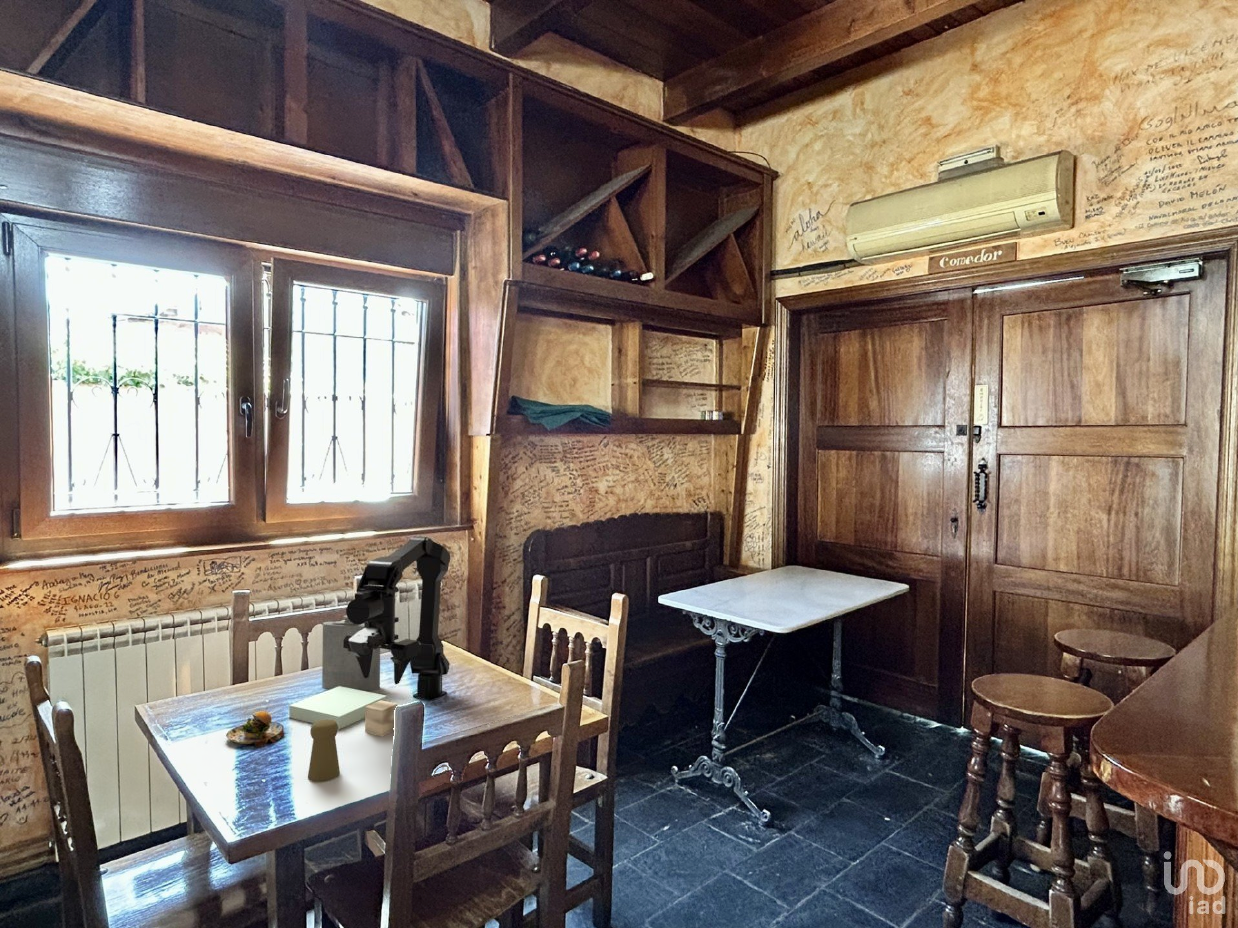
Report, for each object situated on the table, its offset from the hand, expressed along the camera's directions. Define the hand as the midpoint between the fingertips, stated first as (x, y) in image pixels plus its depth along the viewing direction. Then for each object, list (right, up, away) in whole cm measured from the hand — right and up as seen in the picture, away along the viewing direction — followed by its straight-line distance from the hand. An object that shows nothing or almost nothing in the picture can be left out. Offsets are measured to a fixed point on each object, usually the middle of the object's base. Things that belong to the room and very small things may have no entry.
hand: (381, 680), depth 172 cm
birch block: (0, -12, 0) cm, 12 cm away
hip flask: (-18, -11, +29) cm, 36 cm away
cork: (-4, -13, -23) cm, 27 cm away
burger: (-27, -12, -5) cm, 30 cm away
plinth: (-14, -11, +11) cm, 21 cm away
